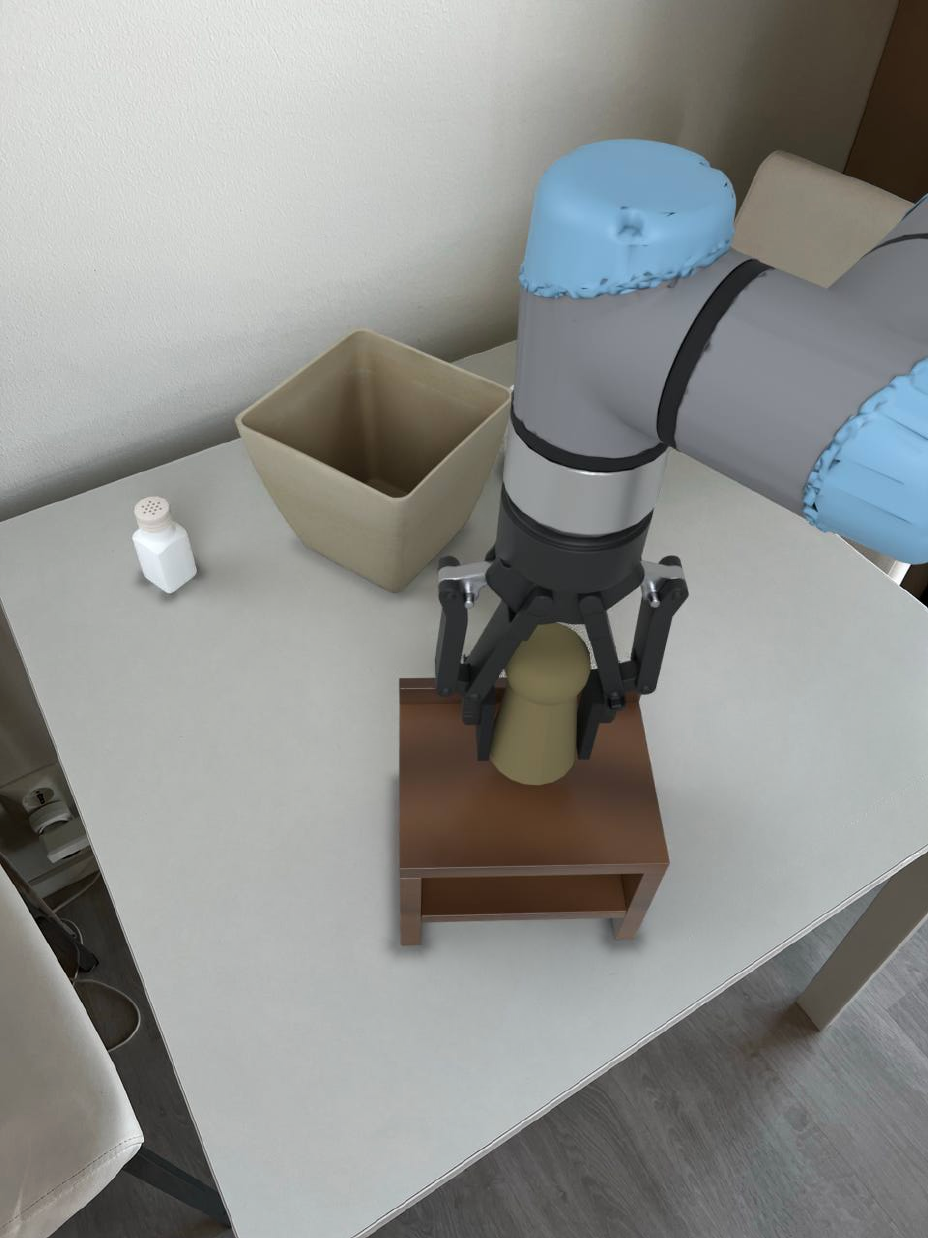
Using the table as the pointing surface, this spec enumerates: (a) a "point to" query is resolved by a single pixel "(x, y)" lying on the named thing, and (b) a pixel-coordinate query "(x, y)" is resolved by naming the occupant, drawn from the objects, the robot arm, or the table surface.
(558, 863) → the miniature wooden nightstand
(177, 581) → the salt shaker
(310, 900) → the table surface
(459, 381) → the flower pot
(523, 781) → the olive pawn
